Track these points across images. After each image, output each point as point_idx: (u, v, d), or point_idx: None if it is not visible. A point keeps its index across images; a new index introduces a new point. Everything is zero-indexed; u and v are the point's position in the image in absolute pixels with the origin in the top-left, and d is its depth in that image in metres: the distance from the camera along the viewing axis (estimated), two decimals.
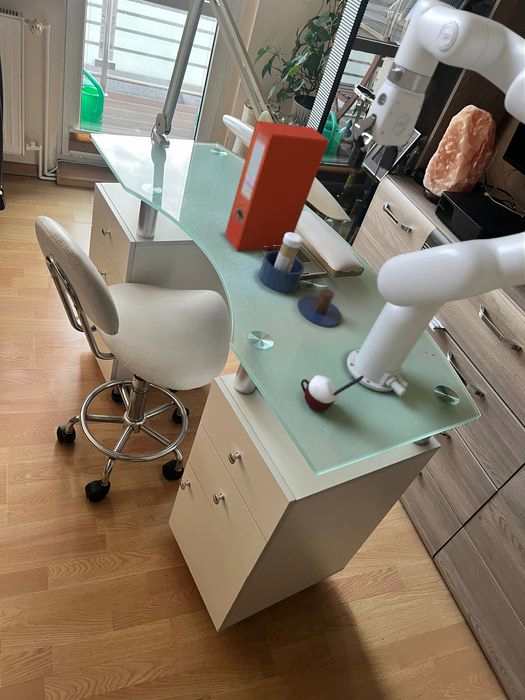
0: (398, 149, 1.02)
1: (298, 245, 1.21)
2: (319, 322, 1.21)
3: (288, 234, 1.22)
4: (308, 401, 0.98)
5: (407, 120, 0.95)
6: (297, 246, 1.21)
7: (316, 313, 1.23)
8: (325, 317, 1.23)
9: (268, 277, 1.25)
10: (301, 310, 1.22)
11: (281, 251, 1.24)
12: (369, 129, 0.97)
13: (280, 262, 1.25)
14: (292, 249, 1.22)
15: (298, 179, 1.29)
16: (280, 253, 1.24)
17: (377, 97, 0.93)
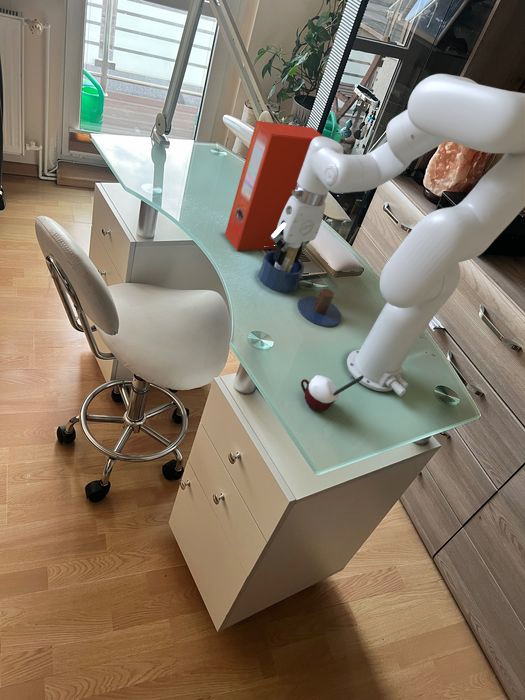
0: (301, 246, 1.24)
1: (298, 245, 1.21)
2: (319, 322, 1.21)
3: None
4: (308, 401, 0.98)
5: (312, 224, 1.18)
6: (297, 246, 1.21)
7: (316, 313, 1.23)
8: (325, 317, 1.23)
9: (268, 277, 1.25)
10: (301, 310, 1.22)
11: None
12: None
13: None
14: (292, 249, 1.22)
15: None
16: None
17: (285, 208, 1.15)
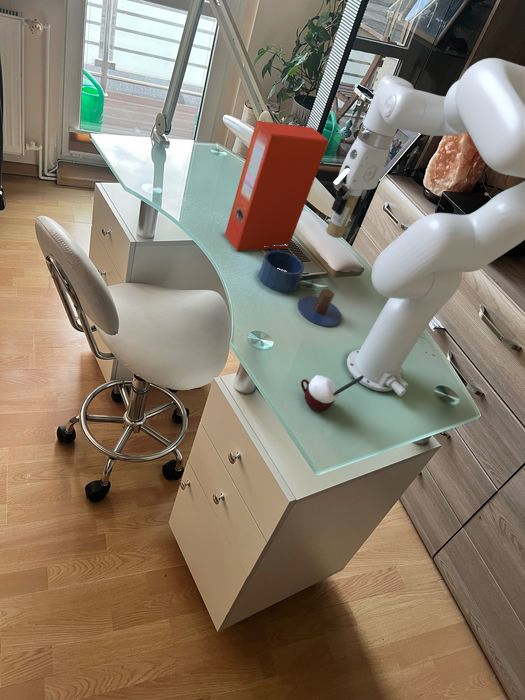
0: (361, 196, 1.21)
1: (359, 193, 1.18)
2: (319, 322, 1.21)
3: None
4: (308, 401, 0.98)
5: (375, 170, 1.15)
6: (358, 194, 1.18)
7: (316, 313, 1.23)
8: (325, 317, 1.23)
9: (268, 277, 1.25)
10: (301, 310, 1.22)
11: None
12: None
13: None
14: (353, 197, 1.19)
15: (298, 179, 1.29)
16: None
17: (350, 152, 1.12)
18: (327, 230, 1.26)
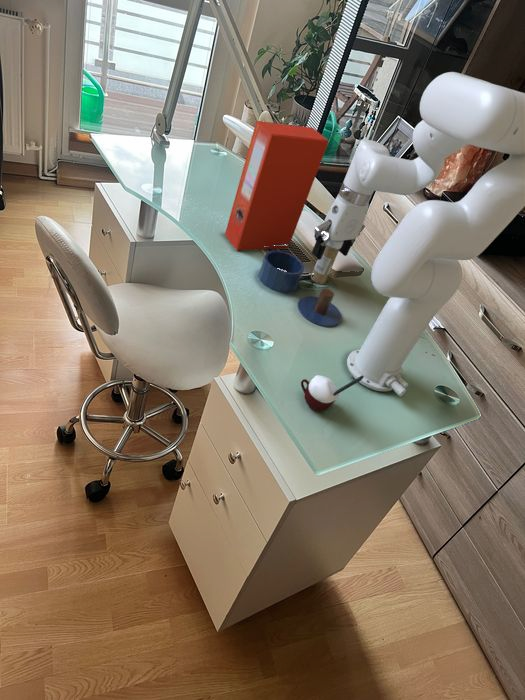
0: (351, 240, 1.31)
1: (340, 246, 1.28)
2: (319, 322, 1.21)
3: None
4: (308, 401, 0.98)
5: (356, 223, 1.24)
6: (339, 247, 1.28)
7: (316, 313, 1.23)
8: (325, 317, 1.23)
9: (268, 277, 1.25)
10: (301, 310, 1.22)
11: None
12: (327, 229, 1.25)
13: (321, 262, 1.32)
14: (334, 249, 1.29)
15: (298, 179, 1.29)
16: None
17: (332, 207, 1.21)
18: (311, 277, 1.36)
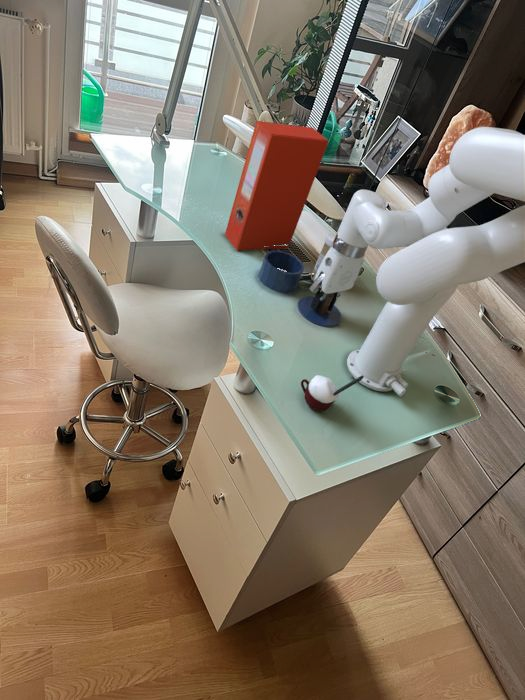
0: (336, 295, 1.22)
1: None
2: (319, 322, 1.21)
3: (330, 235, 1.29)
4: (308, 401, 0.98)
5: (351, 274, 1.16)
6: None
7: (316, 313, 1.23)
8: (325, 317, 1.23)
9: (268, 277, 1.25)
10: (301, 310, 1.22)
11: (323, 252, 1.30)
12: None
13: (321, 262, 1.32)
14: None
15: (298, 179, 1.29)
16: (322, 253, 1.31)
17: (324, 259, 1.13)
18: (311, 277, 1.36)
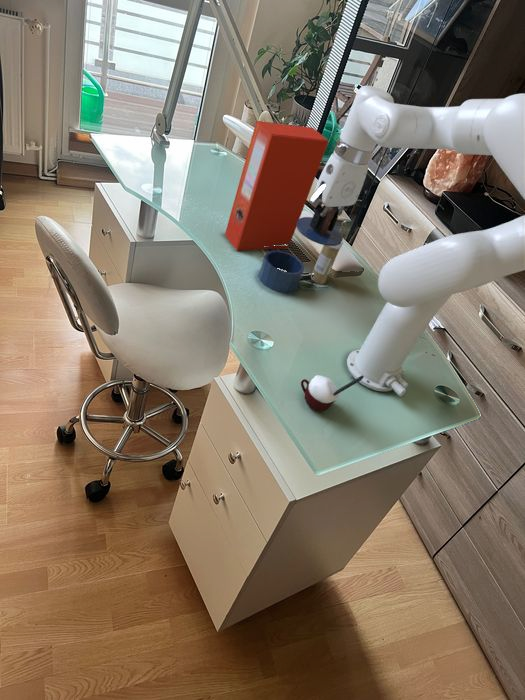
0: (337, 213, 1.14)
1: (340, 246, 1.28)
2: (319, 240, 1.12)
3: None
4: (308, 401, 0.98)
5: (354, 186, 1.08)
6: (339, 247, 1.28)
7: (316, 232, 1.15)
8: (326, 236, 1.15)
9: (268, 277, 1.25)
10: (300, 228, 1.14)
11: (323, 252, 1.30)
12: None
13: (321, 262, 1.32)
14: (334, 249, 1.28)
15: (298, 179, 1.29)
16: (322, 253, 1.31)
17: (326, 167, 1.05)
18: (311, 277, 1.36)
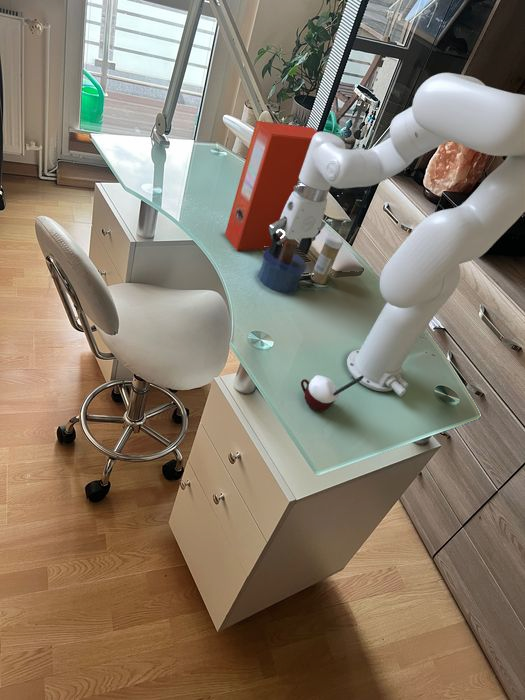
0: (311, 238, 1.24)
1: (340, 246, 1.28)
2: (283, 270, 1.22)
3: (330, 235, 1.29)
4: (308, 401, 0.98)
5: (314, 220, 1.17)
6: (339, 247, 1.28)
7: (281, 262, 1.25)
8: (290, 266, 1.25)
9: (268, 277, 1.25)
10: (266, 259, 1.24)
11: (323, 252, 1.30)
12: (284, 226, 1.19)
13: (321, 262, 1.32)
14: (334, 249, 1.29)
15: None
16: (322, 253, 1.31)
17: (287, 204, 1.15)
18: (311, 277, 1.36)
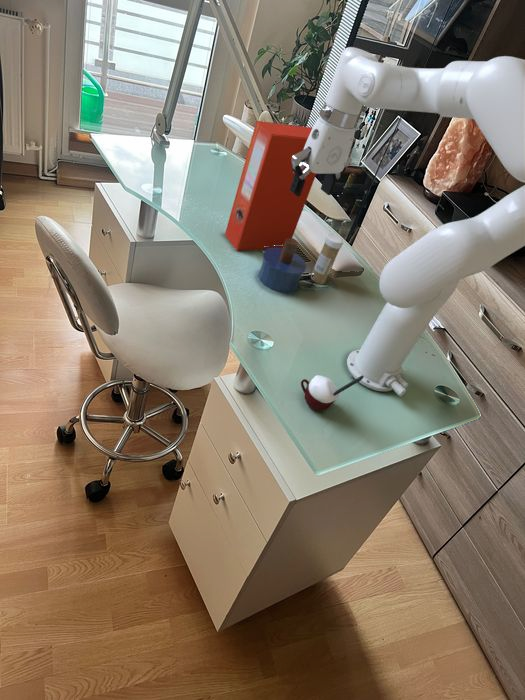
0: (336, 176, 1.14)
1: (340, 246, 1.28)
2: (283, 270, 1.22)
3: (330, 235, 1.29)
4: (308, 401, 0.98)
5: (340, 152, 1.07)
6: (339, 247, 1.28)
7: (281, 262, 1.25)
8: (290, 266, 1.25)
9: (268, 277, 1.25)
10: (266, 259, 1.24)
11: (323, 252, 1.30)
12: (307, 159, 1.08)
13: (321, 262, 1.32)
14: (334, 249, 1.29)
15: None
16: (322, 253, 1.31)
17: (311, 132, 1.04)
18: (311, 277, 1.36)
